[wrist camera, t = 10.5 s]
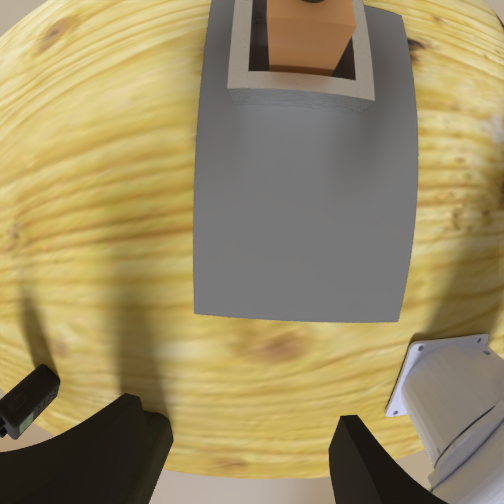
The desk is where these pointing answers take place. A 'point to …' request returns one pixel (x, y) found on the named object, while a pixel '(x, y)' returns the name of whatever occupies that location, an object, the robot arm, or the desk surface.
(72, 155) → the desk surface
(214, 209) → the mat
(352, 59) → the end holder
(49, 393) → the walkie-talkie
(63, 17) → the desk surface
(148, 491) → the black nozzle bottle
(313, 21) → the connector plug
